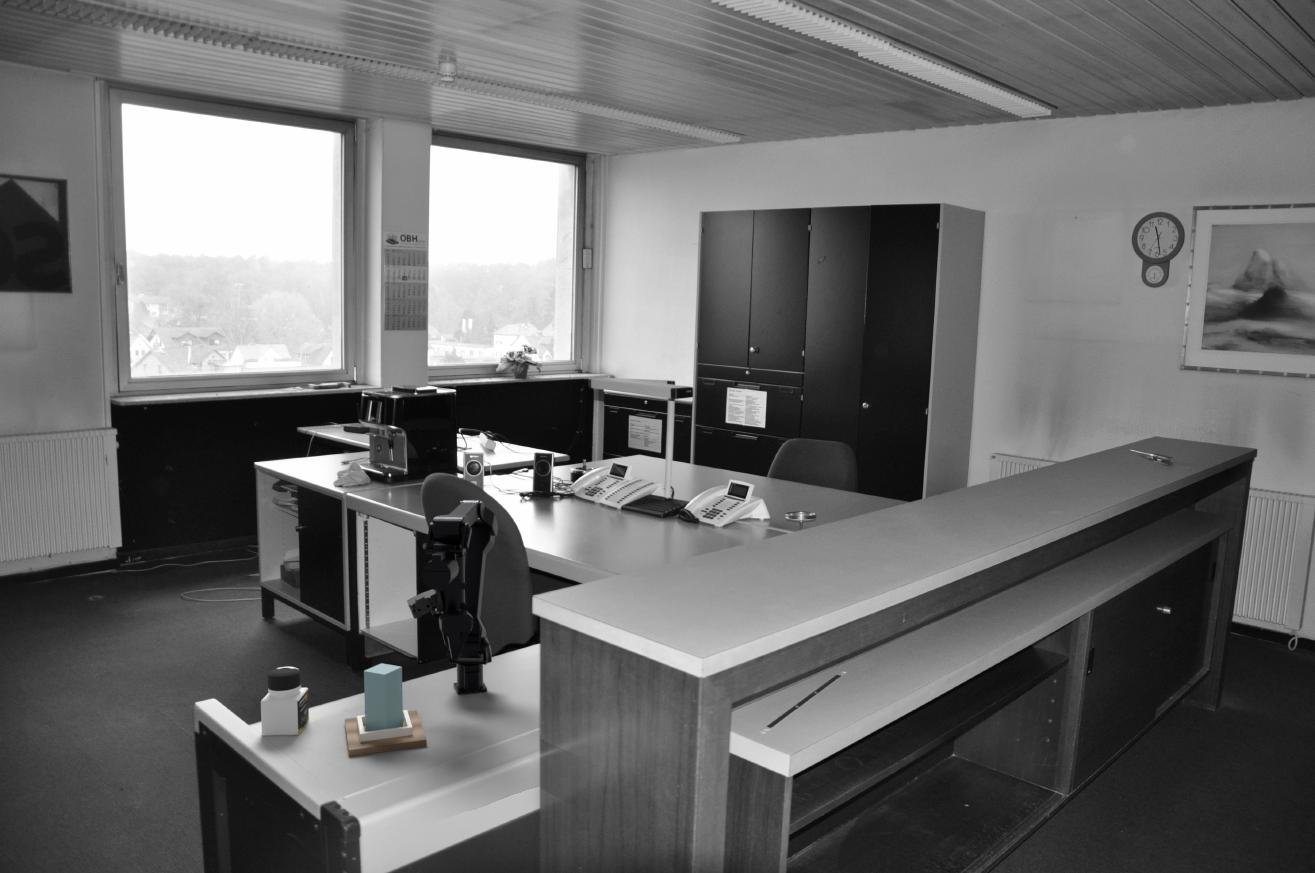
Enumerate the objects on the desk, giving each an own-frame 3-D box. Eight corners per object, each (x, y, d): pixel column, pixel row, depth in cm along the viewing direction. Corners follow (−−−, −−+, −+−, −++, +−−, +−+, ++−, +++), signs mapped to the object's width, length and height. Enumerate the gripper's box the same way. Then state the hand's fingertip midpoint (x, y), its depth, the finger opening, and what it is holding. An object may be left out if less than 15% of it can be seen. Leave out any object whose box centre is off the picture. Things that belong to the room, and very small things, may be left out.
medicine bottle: (299, 735, 185) (297, 675, 184) (261, 736, 185) (259, 676, 184) (309, 721, 192) (307, 663, 191) (273, 722, 192) (271, 663, 191)
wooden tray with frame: (344, 724, 190) (344, 711, 190) (416, 715, 195) (416, 702, 195) (349, 756, 176) (348, 742, 175) (426, 745, 180) (426, 731, 180)
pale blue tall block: (382, 722, 189) (381, 663, 188) (403, 726, 187) (401, 666, 186) (365, 731, 184) (363, 670, 183) (385, 735, 182) (384, 674, 181)
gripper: (404, 570, 199) (405, 643, 201) (415, 591, 182) (416, 671, 183) (458, 567, 203) (459, 638, 205) (473, 586, 186) (474, 664, 187)
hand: (451, 652), depth 195 cm, fingers open, 9 cm apart
